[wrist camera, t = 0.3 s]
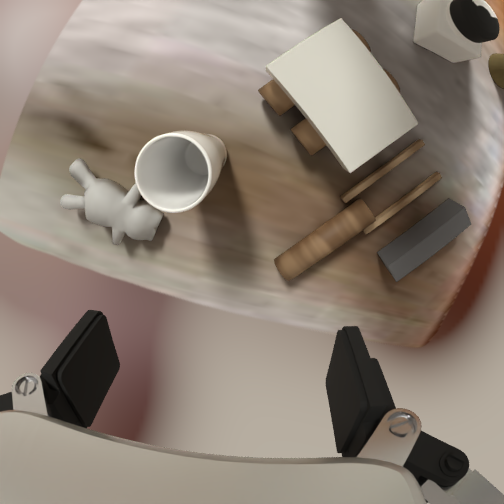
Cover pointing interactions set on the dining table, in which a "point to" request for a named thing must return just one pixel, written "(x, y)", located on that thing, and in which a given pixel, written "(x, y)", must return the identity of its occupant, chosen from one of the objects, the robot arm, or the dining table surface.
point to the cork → (497, 69)
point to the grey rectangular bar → (424, 239)
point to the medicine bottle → (455, 27)
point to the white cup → (179, 169)
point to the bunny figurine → (112, 205)
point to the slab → (343, 94)
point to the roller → (324, 240)
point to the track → (315, 143)
